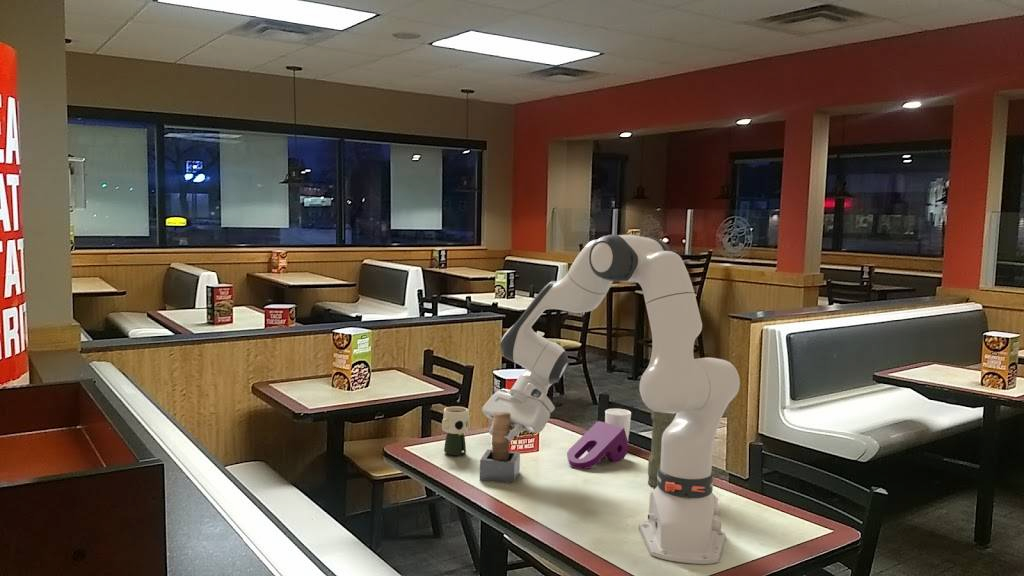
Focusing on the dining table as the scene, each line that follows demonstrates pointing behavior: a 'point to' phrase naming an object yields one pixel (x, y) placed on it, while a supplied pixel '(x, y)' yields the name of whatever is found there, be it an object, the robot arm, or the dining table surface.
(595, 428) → the mounting bracket
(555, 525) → the dining table surface
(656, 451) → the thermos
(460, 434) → the character mug
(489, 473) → the metal well
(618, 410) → the white cup
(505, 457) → the walnut post
